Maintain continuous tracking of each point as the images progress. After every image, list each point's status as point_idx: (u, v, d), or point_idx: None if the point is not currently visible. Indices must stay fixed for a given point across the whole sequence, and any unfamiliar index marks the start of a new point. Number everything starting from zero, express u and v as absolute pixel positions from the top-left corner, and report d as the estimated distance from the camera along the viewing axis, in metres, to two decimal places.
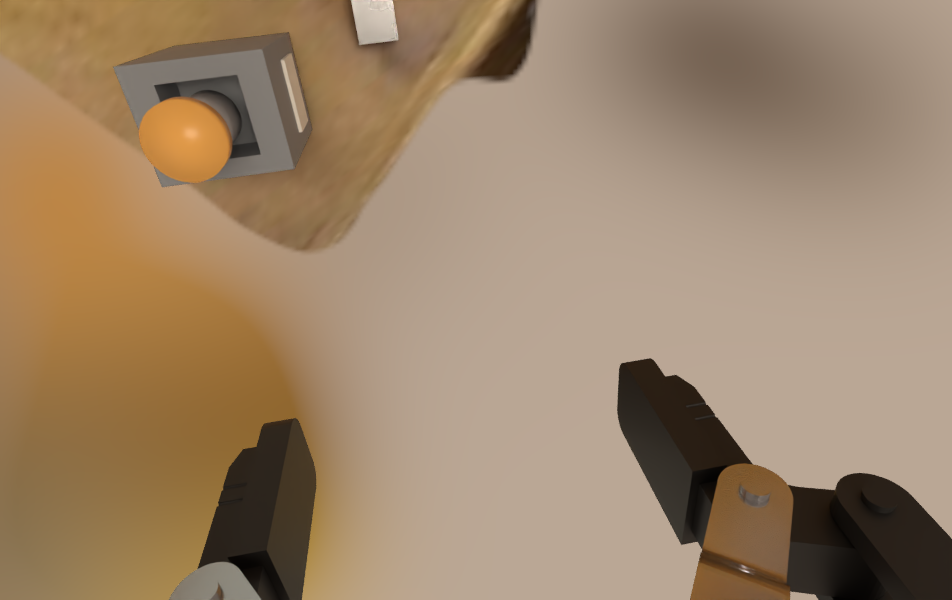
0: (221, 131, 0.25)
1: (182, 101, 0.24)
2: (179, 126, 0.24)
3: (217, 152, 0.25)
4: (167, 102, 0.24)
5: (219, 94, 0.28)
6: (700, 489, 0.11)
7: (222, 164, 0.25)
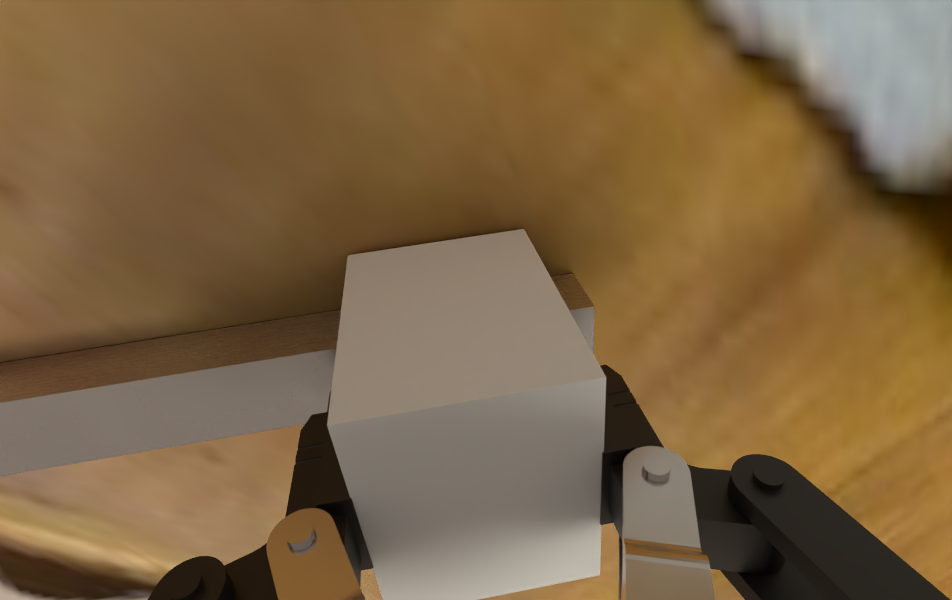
0: None
1: None
2: None
3: None
4: None
5: None
6: (612, 471, 0.11)
7: None
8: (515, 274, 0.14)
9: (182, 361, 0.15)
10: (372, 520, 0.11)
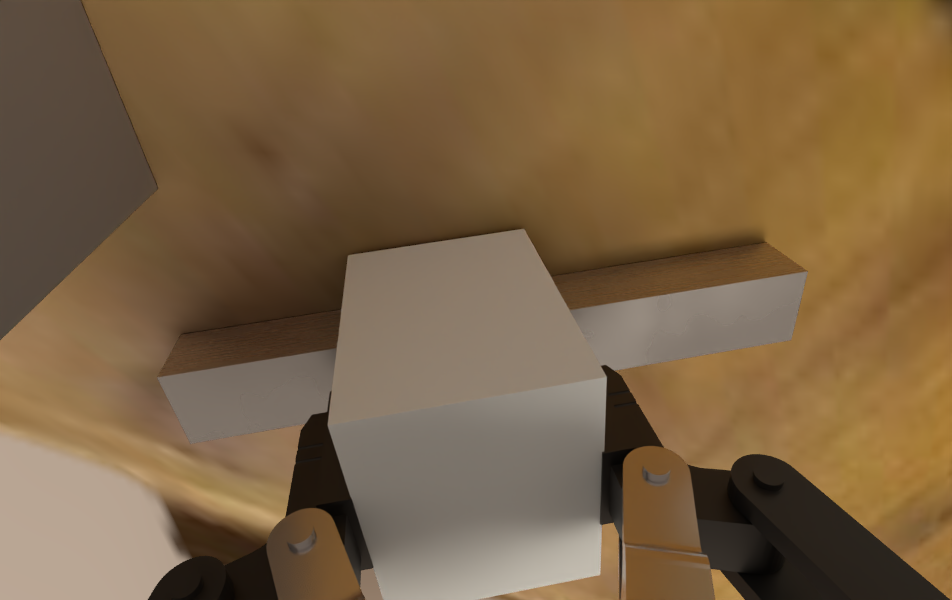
0: None
1: None
2: None
3: None
4: None
5: None
6: (612, 471, 0.11)
7: None
8: (515, 274, 0.14)
9: None
10: (373, 520, 0.11)
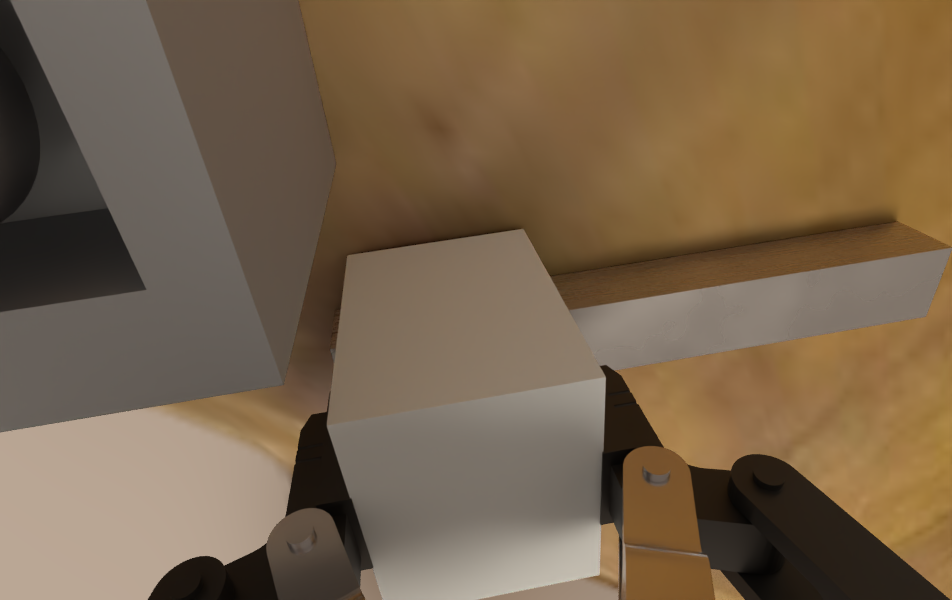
0: None
1: None
2: None
3: None
4: None
5: (17, 178, 0.05)
6: (612, 471, 0.11)
7: None
8: (514, 274, 0.14)
9: (570, 298, 0.16)
10: (372, 520, 0.11)
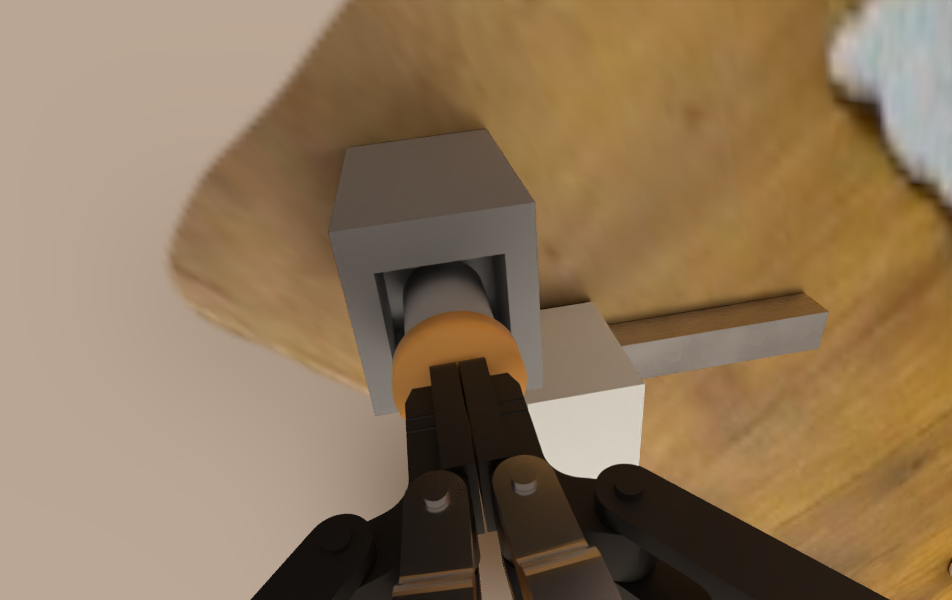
0: None
1: (524, 390, 0.15)
2: None
3: None
4: (525, 375, 0.15)
5: None
6: (491, 479, 0.11)
7: None
8: (594, 330, 0.27)
9: (618, 339, 0.29)
10: None
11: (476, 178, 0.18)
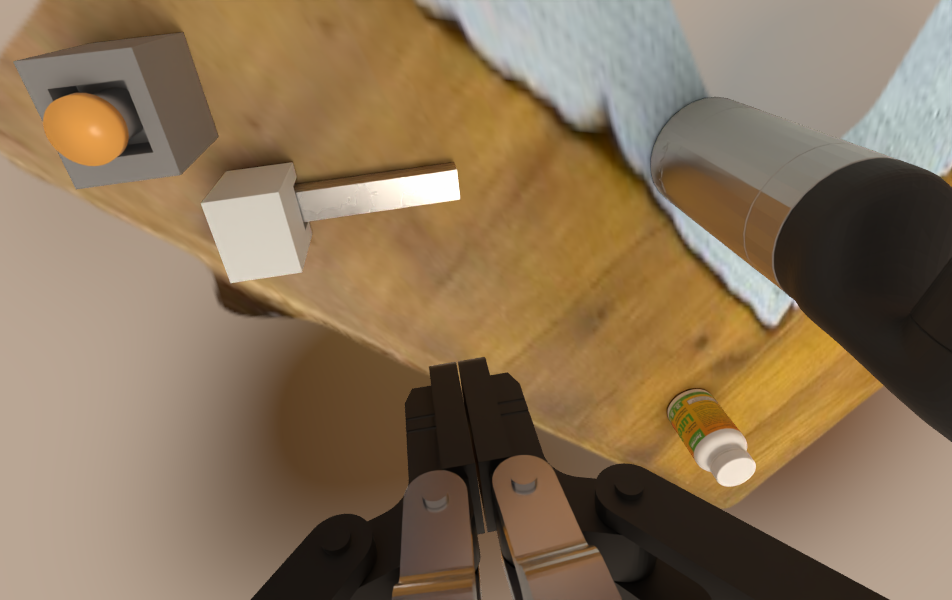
0: (103, 163, 0.30)
1: (121, 137, 0.29)
2: (97, 132, 0.29)
3: (82, 157, 0.30)
4: (117, 126, 0.29)
5: None
6: (491, 479, 0.11)
7: (72, 159, 0.30)
8: (277, 173, 0.40)
9: (309, 188, 0.42)
10: (218, 239, 0.37)
11: (126, 44, 0.32)
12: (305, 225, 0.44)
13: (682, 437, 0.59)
